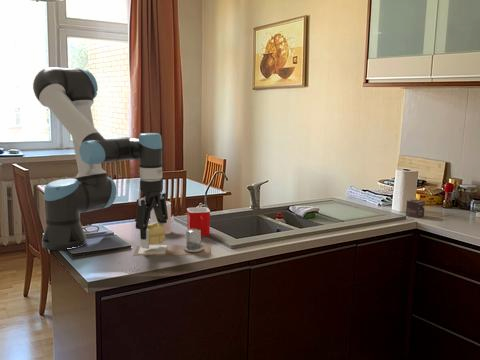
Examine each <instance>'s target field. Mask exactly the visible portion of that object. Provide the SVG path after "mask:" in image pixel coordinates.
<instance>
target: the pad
mask: <svg viewBox="0 0 480 360" xmlns="http://www.w3.org/2000/svg"><path fill="white" fill-rule="evenodd" d="M167 245H168V244H151V245H150V244H149V249H146V248H141V247H140V250H139V252H138V255H152V254H165V252H166V248H167Z"/></svg>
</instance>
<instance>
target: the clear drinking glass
mask: <svg viewBox="0 0 480 360" xmlns="http://www.w3.org/2000/svg"><path fill="white" fill-rule="evenodd" d="M185 235H186V236H185V239H186V240H185V245H186V246H184V247H183V250H184V251H185V252H188V253H198V252H202V251H203V250H204V247H203V246H202V245H203V244H202V243H201V242H202V236H201V230H199V229H188V230H187V229H186V230H185Z"/></svg>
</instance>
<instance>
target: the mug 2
mask: <svg viewBox="0 0 480 360" xmlns="http://www.w3.org/2000/svg"><path fill="white" fill-rule="evenodd" d="M186 212H187V218H186V221H187V225H186V226H187V229H186V230H188V229H199V230H201V237H209V236H211V235H210V234H211V233H210V232H211V231H210V229H211V228H210V227H211V226H210V221H211V220H210V219H211V217H210V215H211V210H210V208H209V207H208V206H207V207H205V206H202V207H200V206H199V207H188V208H186Z"/></svg>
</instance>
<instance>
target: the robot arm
mask: <svg viewBox="0 0 480 360" xmlns="http://www.w3.org/2000/svg"><path fill="white" fill-rule="evenodd" d="M98 86H99V85H98V82H97V79H96V77H95V76H94V74H93V73H91V72H90V70H87V69H82V68H78V67H75V68H73V67H70V68H69V67H68V68H67V67H54V66H50V67H46V68H43V69H41V70H40V71H39V72H38V73H37V74H36V76H35V77H34V80H33V83H32V89H33V93H34V96H35V97H36V100H37V101H38V102H39V103H40V105H42V106H43V107H45V108H48V110H50V111H51V113H52V114H53V115H54V116H55V118H56V119H57V120H58V121H59V122H60V124H62V126H63V127H64V128H65V129H66V130H67V132H68V133H69V135H70V136H71V139H72V145H73V149H74V155H75V160H76V165H77V170H78V171H77V174H76V176H75V178H61V179H56V180H52V181H50V182H48V183H47V184H46V185H45V186H44V189H43V190H44V191H43V192H44V193H43V199H44V211H45V228H44V232H43V235H42V238H41V247H42V248H43V249H45V250H48V251H67V250H66V249H67V248H72V247H78V246H81V245H83V244H85V243H86V244H87V236H86V233H85V231H84V227H83V225H82V223H81V213H82V214H83V213H87V212H92V211H97V210H103V209H106V208H108V207H110V206H111V205H113V203H114V202H115V200H116V197H117V191H118V190H117V186H116V182H115V181H114V179H113V178H111V177H109V176H108V173H107V171H106V170H104V169H103V167H102V164H106V163H111V162H121V161H122V162H123V161H129V160H130V161H137V162H138V161H139V179H140V180H139V191H140V192H141V193H142V196H141V198H137V199H136V217H135V229H136V230H139V231H140V234H139V237H140V238H141V239H140V238H139V239H140V244H141V245H140V246H141V248H146V249H149V245H150V244H149V229H147V227H148V224H149V221H150V219H151V214H150V213H151V210H152V209H154V212H155V215H156V218H157V221H158V222H159V223H158V224H162V225H164V223H167V219H168V214H167V206H166V201H167V200H166V198H167V193H166V192H162V191H163V190H164V188H163V187H164V185H163V184H164V183H163V179H162V178H163V141H162V135H161V133H157V132H144V133H143V132H141V133H139V134H138V138H136V137H135V138H134V137H130V136H123V137H118V138H111V139H110V138H109V139H105V138H104V136H103V135H102V134H101V133H100V132H99V131H98V129H96V128H95V123H94V120H93V119H94V118H93V113H92V106H93V104H94V103H95V102H94V101H95V100H94V99H95V98H96V97H97V95H98V91H99V90H98V89H99V87H98ZM86 244H85V245H86ZM83 246H84V245H83ZM81 247H82V246H81ZM78 248H79V247H78Z"/></svg>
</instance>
